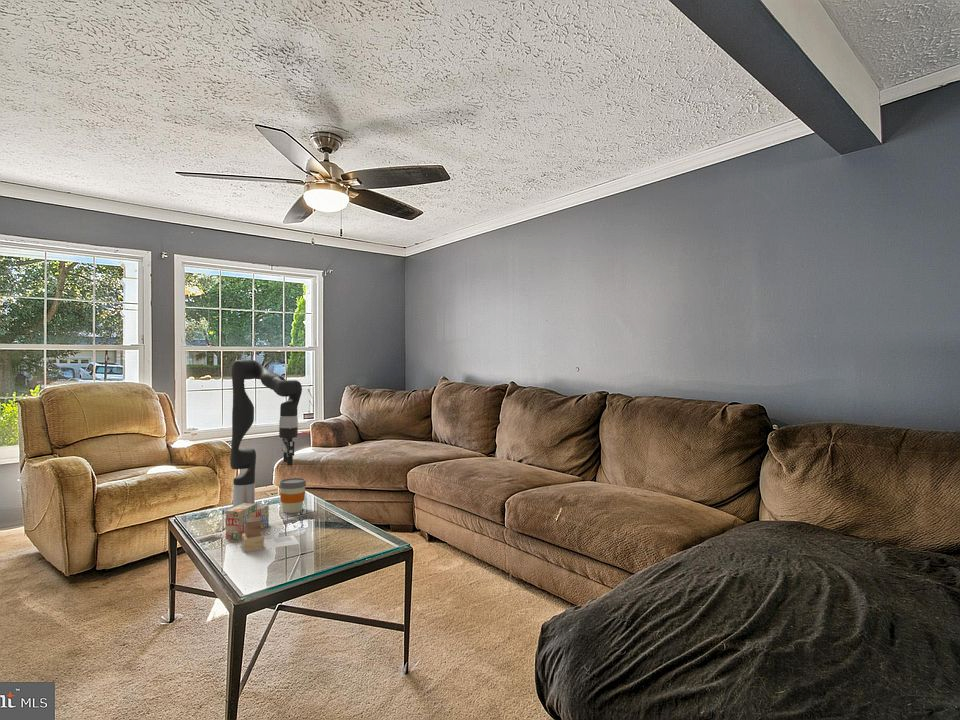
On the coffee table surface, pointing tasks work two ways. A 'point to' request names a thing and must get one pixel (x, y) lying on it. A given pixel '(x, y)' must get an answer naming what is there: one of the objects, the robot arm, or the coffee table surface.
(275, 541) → the white board
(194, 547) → the coffee table surface
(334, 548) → the coffee table surface
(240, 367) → the robot arm
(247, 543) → the oak block
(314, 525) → the coffee table surface
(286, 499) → the reusable coffee cup
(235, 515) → the stack of blocks
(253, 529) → the walnut block
